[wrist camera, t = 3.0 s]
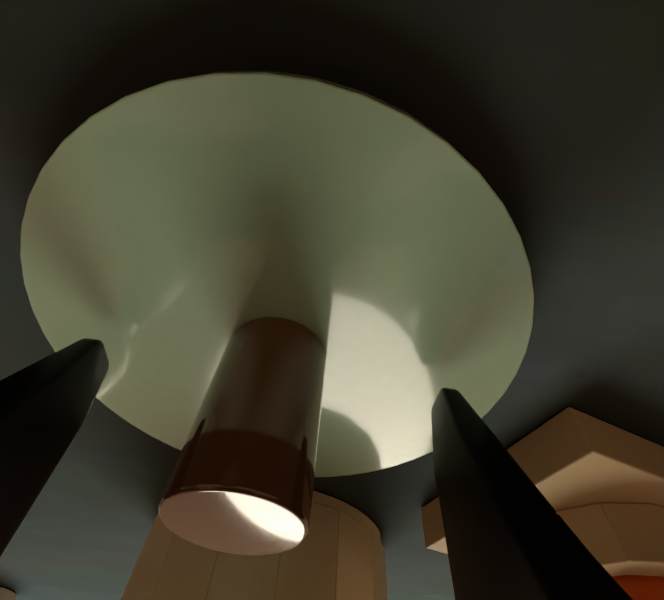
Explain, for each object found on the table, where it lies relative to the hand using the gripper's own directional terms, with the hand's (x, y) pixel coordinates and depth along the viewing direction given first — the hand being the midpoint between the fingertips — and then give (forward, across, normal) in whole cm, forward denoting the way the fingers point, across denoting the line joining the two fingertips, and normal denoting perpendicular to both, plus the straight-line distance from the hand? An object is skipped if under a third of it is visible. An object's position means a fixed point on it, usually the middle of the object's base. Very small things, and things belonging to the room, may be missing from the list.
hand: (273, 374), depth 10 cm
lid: (+1, 0, 0) cm, 1 cm away
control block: (+2, -13, +8) cm, 15 cm away
